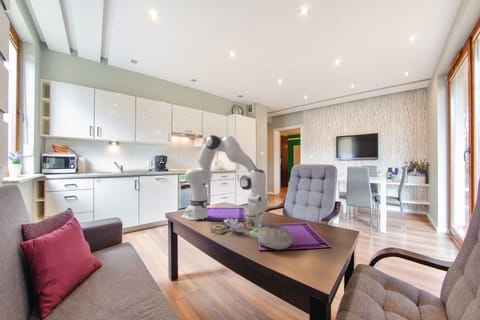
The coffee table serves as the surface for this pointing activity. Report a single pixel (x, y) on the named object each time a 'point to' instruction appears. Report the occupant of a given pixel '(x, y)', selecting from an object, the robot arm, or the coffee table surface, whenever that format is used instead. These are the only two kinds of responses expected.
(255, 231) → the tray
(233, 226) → the water lily
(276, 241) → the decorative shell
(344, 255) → the coffee table surface
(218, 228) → the tensioner block
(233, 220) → the pulley
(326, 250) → the coffee table surface
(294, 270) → the coffee table surface
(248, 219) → the teacup with lid
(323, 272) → the coffee table surface
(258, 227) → the lock pin
